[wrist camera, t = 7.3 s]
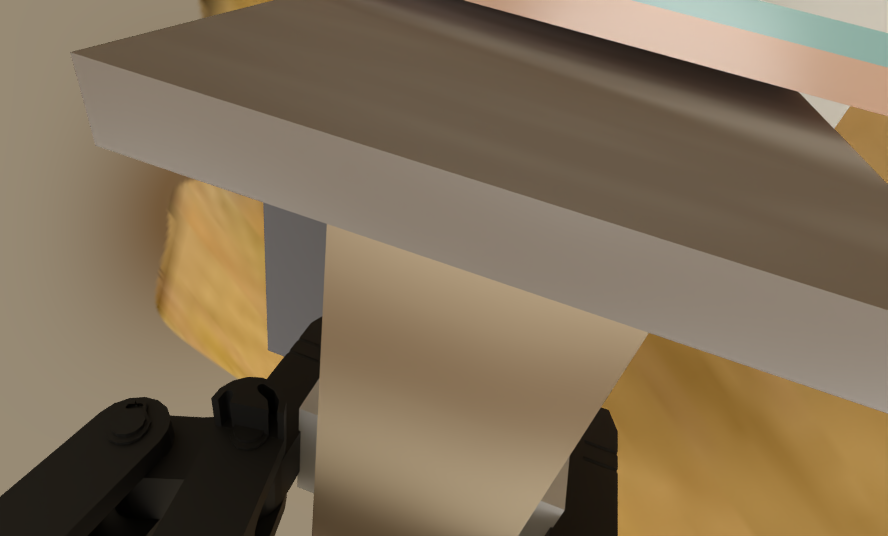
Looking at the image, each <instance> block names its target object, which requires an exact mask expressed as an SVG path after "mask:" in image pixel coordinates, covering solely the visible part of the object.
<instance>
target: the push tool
mask: <svg viewBox="0 0 888 536" xmlns="http://www.w3.org/2000/svg"><path fill="white" fill-rule="evenodd" d="M70 53H71V57H72V61H73V65H74V68H75V72H76V76H77V79H78V83H79V87H80V90H81V94H82V98H83V101H84V105H85V108H86V112H87V116H88V120H89V123H90V127H91V131H92V134H93V138H94V142H95V145H96V146H98V147H101V148H104V149H107V150H110V151H113V152H116V153H119V154H122V155H125V156H128V157H131V158H134V159H137V160H140V161H142V162H146V163H148V164H151V165H154V166H157V167H160V168H164V169H166V170H169V171H172V172H175V173H178V174H181V175H184V176H187V177H190V178H193V179H196V180H199V181H202V182H205V183H208V184H211V185H213V186H216V187H219V188H222V189H225V190H228V191H231V192H234V193H237V194H240V195H243V196H246V197H249V198H252V199H255V200H258V201H261V202H264V203H267V204H270V205H273V206H276V207H279V208H281V209H284V210H287V211H290V212H293V213H296V214H299V215H302V216H305V217H308V218H311V219H314V220H317V221H320V222H323V223H326V224H327V232H326V253H325V273H324V294H323V315H322V336H321V357H320V378H319V399H318V420H317V441H316V462H315V483H314V505H313V525H312V536H518V535H519V534H520V532H521V530H522V529H523V527H524V526H525V524H526V523H527V521H528V520H529V518H530V516H531V515H532V513H533V512H534V510H535V509H536V507H537V506H538V504H539V503H540V501H541V499H542V498H543V496H544V495H545V493H546V492H547V490H548V489H549V487H550V485H551V484H552V482H553V481H554V479H555V478H556V476H557V475H558V473H559V471H560V470H561V468H562V467H563V465H564V464H565V462H566V461H567V459H568V458H569V456H570V454H571V453H572V451H573V450H574V448H575V447H576V445H577V444H578V442H579V440H580V439H581V437H582V436H583V434H584V433H585V431H586V430H587V428H588V426H589V425H590V423H591V422H592V420H593V419H594V417H595V416H596V414H597V413H598V411H599V409H600V408H601V406H602V405H603V403H604V402H605V400H606V399H607V397H608V395H609V394H610V392H611V391H612V389H613V388H614V386H615V385H616V383H617V381H618V380H619V378H620V377H621V375H622V374H623V372H624V371H625V369H626V368H627V366H628V364H629V363H630V361H631V360H632V358H633V357H634V355H635V354H636V352H637V350H638V349H639V347H640V346H641V344H642V343H643V341H644V340H645V338H646V336H647V335H648V333H651V334H654V335H657V336H660V337H663V338H666V339H669V340H672V341H675V342H678V343H681V344H684V345H687V346H690V347H693V348H695V349H698V350H701V351H704V352H707V353H710V354H713V355H716V356H719V357H722V358H725V359H728V360H731V361H734V362H737V363H740V364H743V365H746V366H749V367H752V368H755V369H758V370H761V371H763V372H766V373H769V374H772V375H775V376H778V377H781V378H784V379H787V380H790V381H793V382H796V383H799V384H802V385H805V386H808V387H811V388H814V389H817V390H820V391H823V392H826V393H829V394H832V395H834V396H837V397H840V398H843V399H846V400H849V401H852V402H855V403H858V404H861V405H864V406H867V407H870V408H873V409H876V410H879V411H882V412H885V413H888V184H887V183H886V182H885V181H884V180H883V179H882V178H881V177H880V176H879V175H878V174H877V173H876V172H875V171H874V170H873V169H872V168H871V167H870V166H869V164H868V163H867V162H866V161H865V160H864V159H863V158H862V157H861V156H860V155H859V154H858V153H857V152H856V151H855V150H854V149H853V148H852V147H851V146H850V145H849V144H848V143H847V142H846V141H845V140H844V138H843V137H842V136H841V135H840V134H839V133H838V132H837V131H836V130H835V129H834V128H833V127H832V126H831V125H830V124H829V123H828V122H827V121H826V120H825V119H824V118H823V117H822V116H821V115H820V114H819V113H818V111H817V110H816V109H815V108H814V107H813V106H812V105H811V104H810V103H809V102H808V101H807V100H806V99H805V98H804V97H803V96H802V95H801V94H800V93H799V92H798V91H794V90H790V89H787V88H783V87H779V86H776V85H772V84H768V83H765V82H761V81H757V80H754V79H750V78H746V77H743V76H739V75H735V74H732V73H728V72H724V71H721V70H717V69H713V68H710V67H706V66H702V65H699V64H695V63H691V62H688V61H684V60H680V59H677V58H673V57H670V56H666V55H662V54H659V53H655V52H651V51H648V50H644V49H640V48H637V47H633V46H629V45H626V44H622V43H618V42H615V41H611V40H607V39H604V38H600V37H596V36H593V35H589V34H585V33H582V32H578V31H574V30H571V29H567V28H563V27H560V26H556V25H552V24H549V23H545V22H541V21H538V20H534V19H530V18H527V17H523V16H520V15H516V14H512V13H509V12H505V11H501V10H498V9H494V8H490V7H487V6H483V5H479V4H476V3H472V2H468V1H465V0H273V1H269V2H266V3H262V4H258V5H254V6H250V7H246V8H242V9H238V10H234V11H230V12H226V13H222V14H218V15H214V16H211V17H207V18H203V19H199V20H195V21H191V22H187V23H183V24H179V25H175V26H172V27H167V28H164V29H160V30H156V31H152V32H148V33H144V34H140V35H136V36H132V37H128V38H124V39H120V40H116V41H112V42H108V43H105V44H101V45H97V46H93V47H89V48H85V49H81V50H77V51H73V52H70Z"/></svg>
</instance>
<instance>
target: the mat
mask: <svg viewBox="0 0 888 536" xmlns="http://www.w3.org/2000/svg"><path fill="white" fill-rule="evenodd" d="M263 204H264V236H265V267H266V299H267V330H268V350H269V351H271V352H274V353H277V354H279V355H282V356H285V355H286V354H287V353H289V351H290V349H291V348H292V346H293V345H294V344H295V343H296V341H298V340H299V338H300V336H301V335H302V334H303V332H304V331H305V330H306V329H307V327H308V326H309V325H310V324H311V322H313V321H315V320H317V319H318V318H320V317H322V315H323V294H324V273H325V253H326V232H327V224H326V223H323V222H320V221H317V220H314V219H311V218H308V217H305V216H302V215H299V214H296V213H293V212H290V211H287V210H284V209H281V208H279V207H276V206H273V205H270V204H267V203H264V202H263Z"/></svg>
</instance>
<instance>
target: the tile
mask: <svg viewBox="0 0 888 536" xmlns="http://www.w3.org/2000/svg"><path fill="white" fill-rule="evenodd" d="M465 1H468V2H472V3H476V4H479V5H483V6H487V7H490V8H494V9H498V10H501V11H505V12H509V13H512V14H516V15H520V16H523V17H527V18H530V19H534V20H538V21H541V22H545V23H549V24H552V25H556V26H560V27H563V28H567V29H571V30H574V31H578V32H582V33H585V34H589V35H593V36H596V37H600V38H604V39H607V40H611V41H615V42H618V43H622V44H626V45H629V46H633V47H637V48H640V49H644V50H648V51H651V52H655V53H659V54H662V55H666V56H670V57H673V58H677V59H680V60H684V61H688V62H691V63H695V64H699V65H702V66H706V67H710V68H713V69H717V70H721V71H724V72H728V73H732V74H735V75H739V76H743V77H746V78H750V79H754V80H757V81H761V82H765V83H768V84H772V85H776V86H779V87H783V88H787V89H790V90H794V91H798V92H801V93H805V94H809V95H812V96H816V97H820V98H823V99H827V100H831V101H834V102H838V103H841V104H845V105H849V106H852V107H856V108H860V109H863V110H867V111H871V112H874V113H878V114H882V115H885V116H888V33H885V32H881V31H877V30H874V29H870V28H866V27H862V26H858V25H854V24H850V23H846V22H842V21H838V20H834V19H830V18H826V17H823V16H819V15H815V14H811V13H807V12H803V11H799V10H795V9H791V8H787V7H783V6H779V5H775V4H772V3H768V2H764V1H760V0H465Z"/></svg>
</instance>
